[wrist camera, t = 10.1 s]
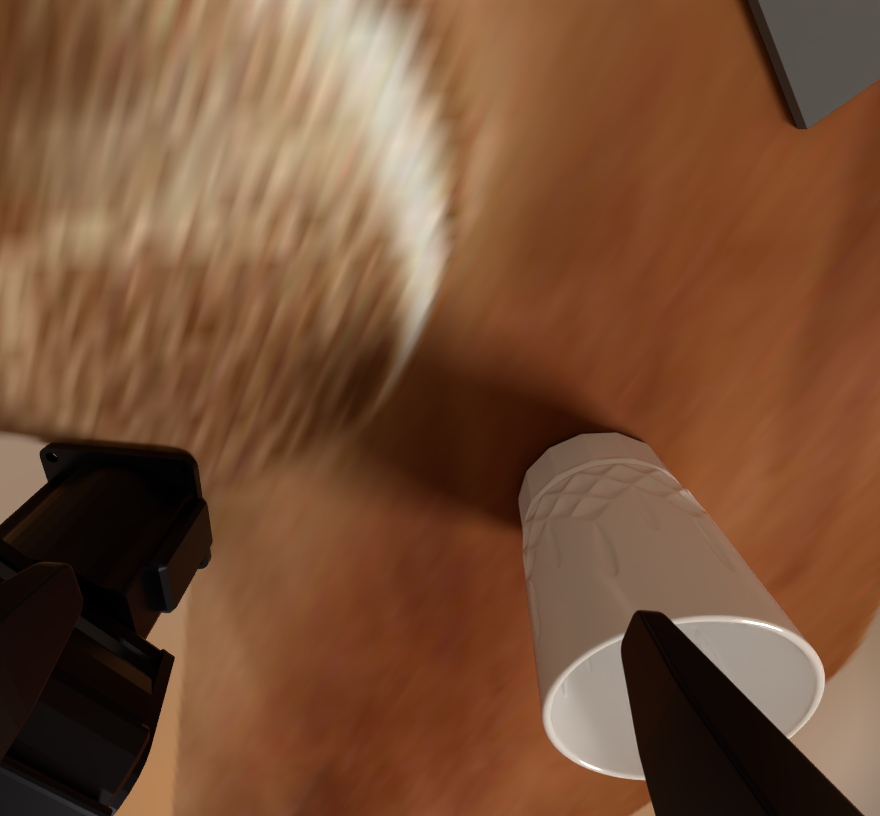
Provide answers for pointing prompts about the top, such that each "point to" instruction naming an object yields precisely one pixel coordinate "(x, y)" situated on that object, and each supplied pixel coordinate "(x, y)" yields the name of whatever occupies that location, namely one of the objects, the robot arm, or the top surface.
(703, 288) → the top surface
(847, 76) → the pad
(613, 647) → the white cup
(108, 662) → the robot arm
